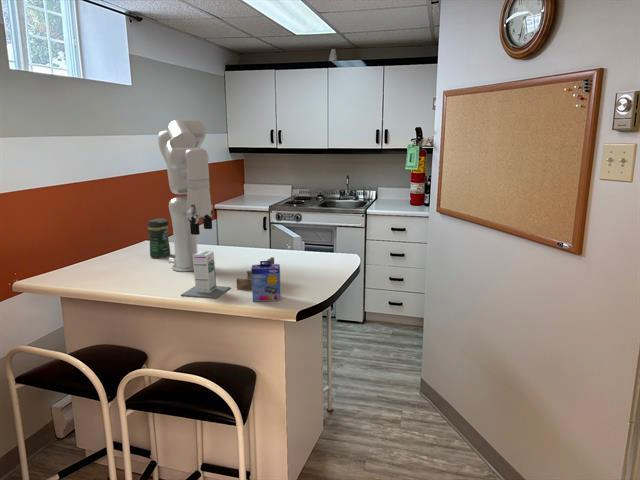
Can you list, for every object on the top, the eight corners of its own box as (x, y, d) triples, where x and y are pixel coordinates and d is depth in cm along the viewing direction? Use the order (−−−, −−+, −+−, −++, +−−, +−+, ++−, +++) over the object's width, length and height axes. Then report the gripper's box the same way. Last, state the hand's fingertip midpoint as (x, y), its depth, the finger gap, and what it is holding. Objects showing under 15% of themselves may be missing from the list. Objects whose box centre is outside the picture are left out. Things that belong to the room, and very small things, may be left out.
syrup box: (210, 293, 171) (207, 255, 168) (195, 292, 173) (192, 254, 170) (216, 288, 177) (214, 251, 174) (202, 287, 178) (199, 250, 175)
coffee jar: (161, 259, 224) (158, 220, 220) (147, 258, 226) (143, 220, 222) (173, 254, 233) (170, 217, 229) (159, 253, 235) (156, 216, 231)
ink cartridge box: (252, 302, 163) (250, 262, 160) (253, 297, 168) (251, 258, 165) (280, 301, 164) (279, 261, 161) (280, 296, 169) (279, 257, 166)
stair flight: (237, 289, 177) (235, 263, 175) (248, 280, 188) (247, 256, 186) (264, 291, 175) (263, 265, 173) (275, 281, 186) (274, 257, 183)
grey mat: (181, 296, 171) (180, 294, 171) (197, 286, 182) (197, 284, 182) (216, 298, 167) (216, 297, 167) (230, 288, 179) (230, 286, 179)
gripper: (200, 181, 175) (203, 226, 179) (176, 187, 159) (180, 236, 163) (219, 182, 173) (221, 227, 177) (196, 187, 157) (199, 237, 161)
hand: (201, 231), depth 170 cm, fingers open, 9 cm apart
